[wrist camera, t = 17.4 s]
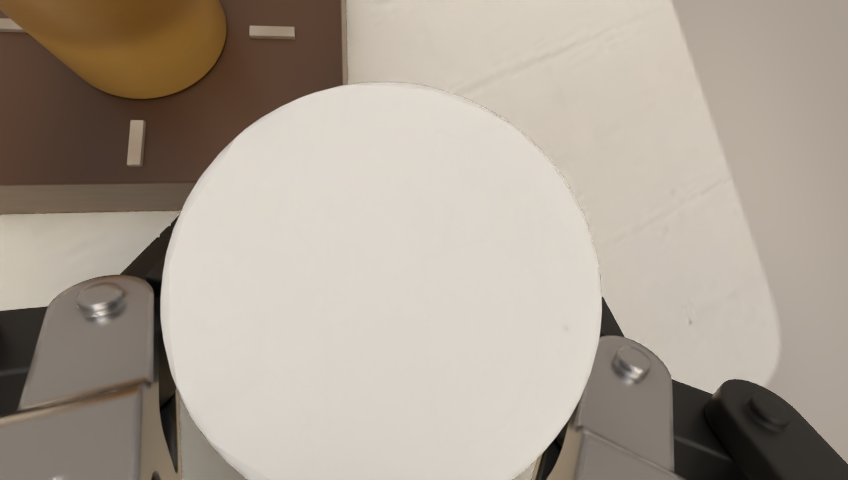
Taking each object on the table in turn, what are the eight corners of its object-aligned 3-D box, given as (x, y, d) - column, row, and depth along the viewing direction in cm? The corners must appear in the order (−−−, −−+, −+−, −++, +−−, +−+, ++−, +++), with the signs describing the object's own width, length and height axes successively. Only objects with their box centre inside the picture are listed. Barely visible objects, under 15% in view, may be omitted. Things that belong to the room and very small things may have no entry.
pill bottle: (498, 323, 15) (782, 319, 5) (367, 443, 14) (345, 819, 3) (393, 197, 16) (430, -67, 5) (256, 301, 15) (-71, 235, 4)
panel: (345, -21, 18) (339, -94, 15) (350, 206, 16) (344, 178, 13) (32, -34, 16) (-49, -119, 13) (-5, 214, 14) (-110, 184, 11)
